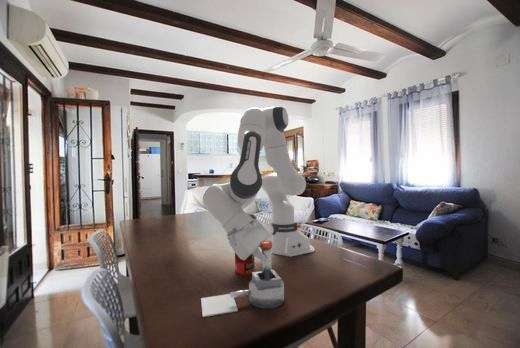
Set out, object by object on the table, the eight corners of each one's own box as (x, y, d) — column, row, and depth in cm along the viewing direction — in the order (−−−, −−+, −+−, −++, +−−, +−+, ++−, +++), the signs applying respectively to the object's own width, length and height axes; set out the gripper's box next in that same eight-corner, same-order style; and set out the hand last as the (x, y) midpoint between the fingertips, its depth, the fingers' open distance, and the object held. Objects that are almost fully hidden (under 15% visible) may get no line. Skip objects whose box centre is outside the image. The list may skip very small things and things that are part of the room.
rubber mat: (232, 294, 82) (232, 293, 82) (237, 311, 73) (237, 309, 73) (201, 299, 80) (201, 298, 80) (202, 317, 70) (202, 315, 70)
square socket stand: (277, 288, 86) (276, 266, 86) (289, 305, 75) (289, 280, 75) (227, 296, 81) (227, 273, 81) (233, 315, 71) (233, 288, 71)
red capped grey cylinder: (270, 273, 82) (270, 240, 81) (274, 278, 78) (273, 243, 78) (259, 275, 81) (258, 241, 80) (262, 280, 77) (262, 244, 77)
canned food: (247, 277, 95) (247, 248, 95) (231, 272, 100) (230, 245, 99) (258, 270, 102) (257, 243, 102) (242, 266, 106) (242, 240, 106)
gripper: (231, 226, 71) (264, 264, 68) (256, 213, 91) (282, 242, 88) (217, 241, 73) (250, 278, 70) (245, 225, 92) (271, 253, 89)
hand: (268, 258), depth 79 cm, fingers closed on red capped grey cylinder, 3 cm apart
